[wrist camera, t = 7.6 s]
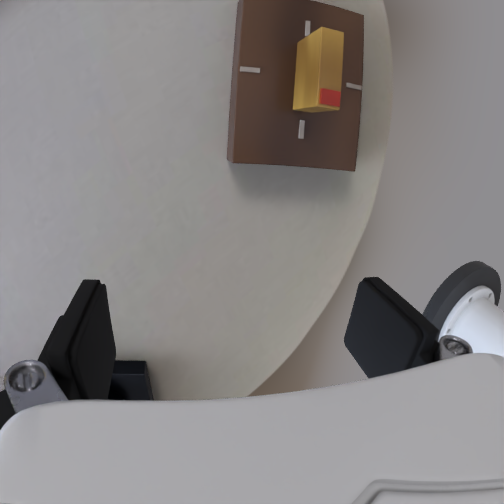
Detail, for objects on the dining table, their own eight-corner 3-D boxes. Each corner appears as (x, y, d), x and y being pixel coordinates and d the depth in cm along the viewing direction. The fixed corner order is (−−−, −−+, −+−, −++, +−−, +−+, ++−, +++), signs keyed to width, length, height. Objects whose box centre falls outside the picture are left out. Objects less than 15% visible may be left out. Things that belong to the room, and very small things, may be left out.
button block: (145, 360, 30) (143, 387, 27) (157, 418, 34) (157, 442, 30) (45, 356, 28) (35, 380, 24) (70, 413, 31) (64, 436, 28)
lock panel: (347, 23, 22) (364, 14, 19) (338, 166, 27) (356, 171, 24) (237, 2, 20) (244, -13, 17) (226, 159, 25) (232, 163, 22)
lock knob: (297, 42, 19) (322, 25, 15) (316, 46, 20) (346, 31, 15) (292, 109, 21) (318, 106, 17) (312, 112, 22) (341, 110, 17)
